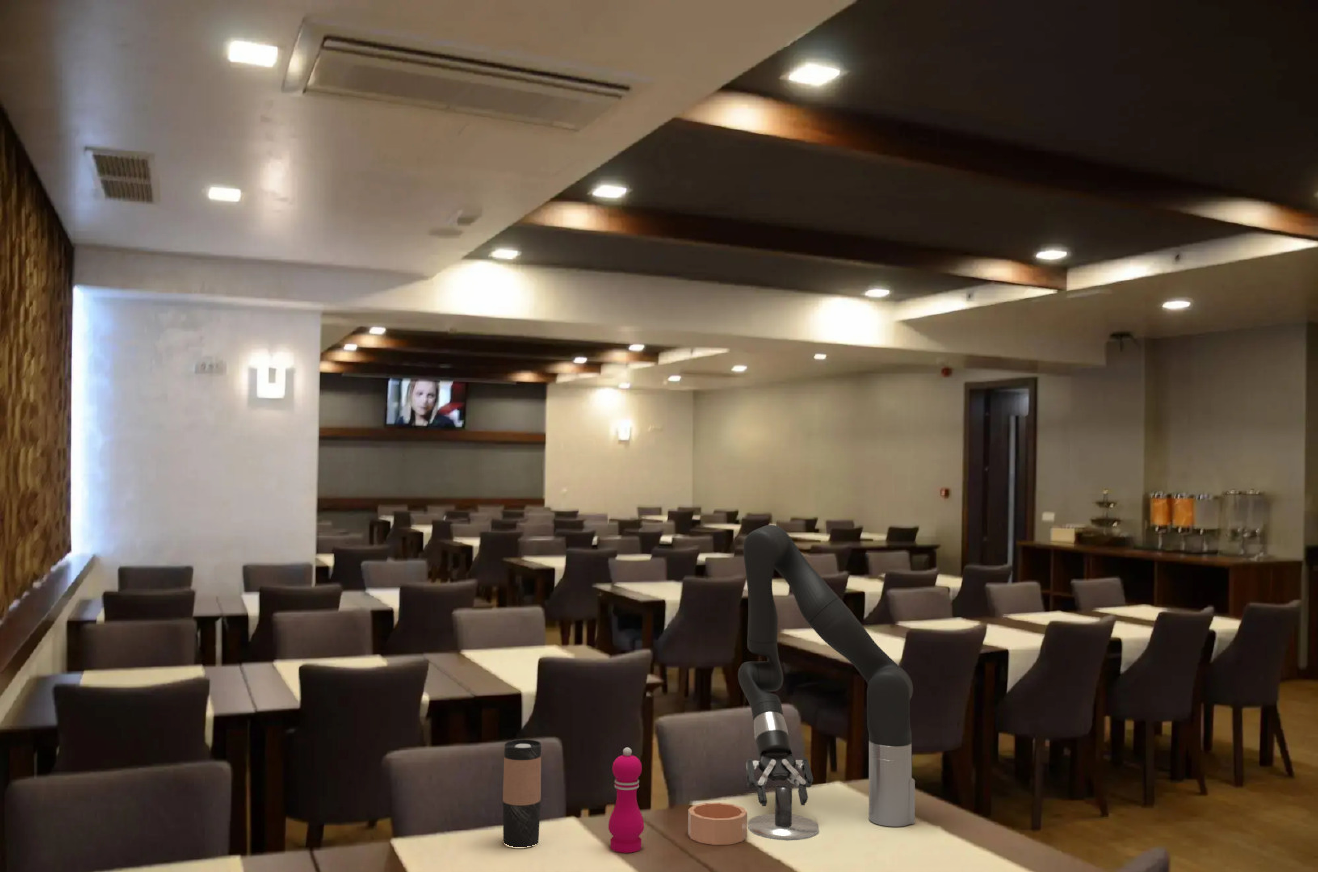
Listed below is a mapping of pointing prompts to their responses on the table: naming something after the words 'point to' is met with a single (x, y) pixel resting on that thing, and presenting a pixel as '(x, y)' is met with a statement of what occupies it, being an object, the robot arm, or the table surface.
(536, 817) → the travel mug
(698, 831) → the terracotta bowl
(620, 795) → the pepper mill
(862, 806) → the table surface
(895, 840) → the table surface
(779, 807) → the steel lid
